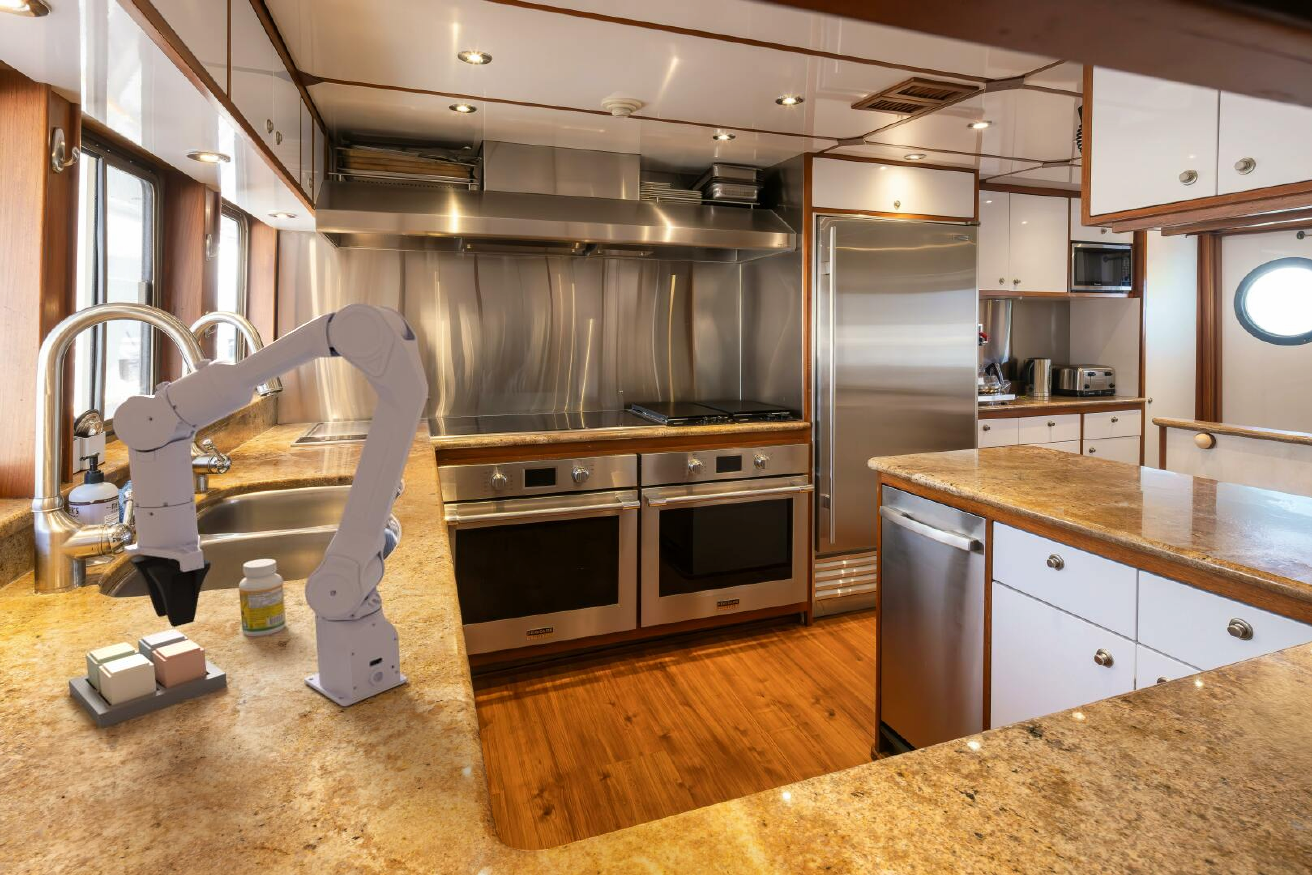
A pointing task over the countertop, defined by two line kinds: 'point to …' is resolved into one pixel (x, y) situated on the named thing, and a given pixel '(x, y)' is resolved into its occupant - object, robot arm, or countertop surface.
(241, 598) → the supplement bottle
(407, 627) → the countertop surface
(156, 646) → the key slate
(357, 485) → the robot arm
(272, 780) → the countertop surface
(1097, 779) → the countertop surface
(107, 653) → the key sage
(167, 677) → the key terracotta
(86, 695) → the keypad board
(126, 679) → the key cream
